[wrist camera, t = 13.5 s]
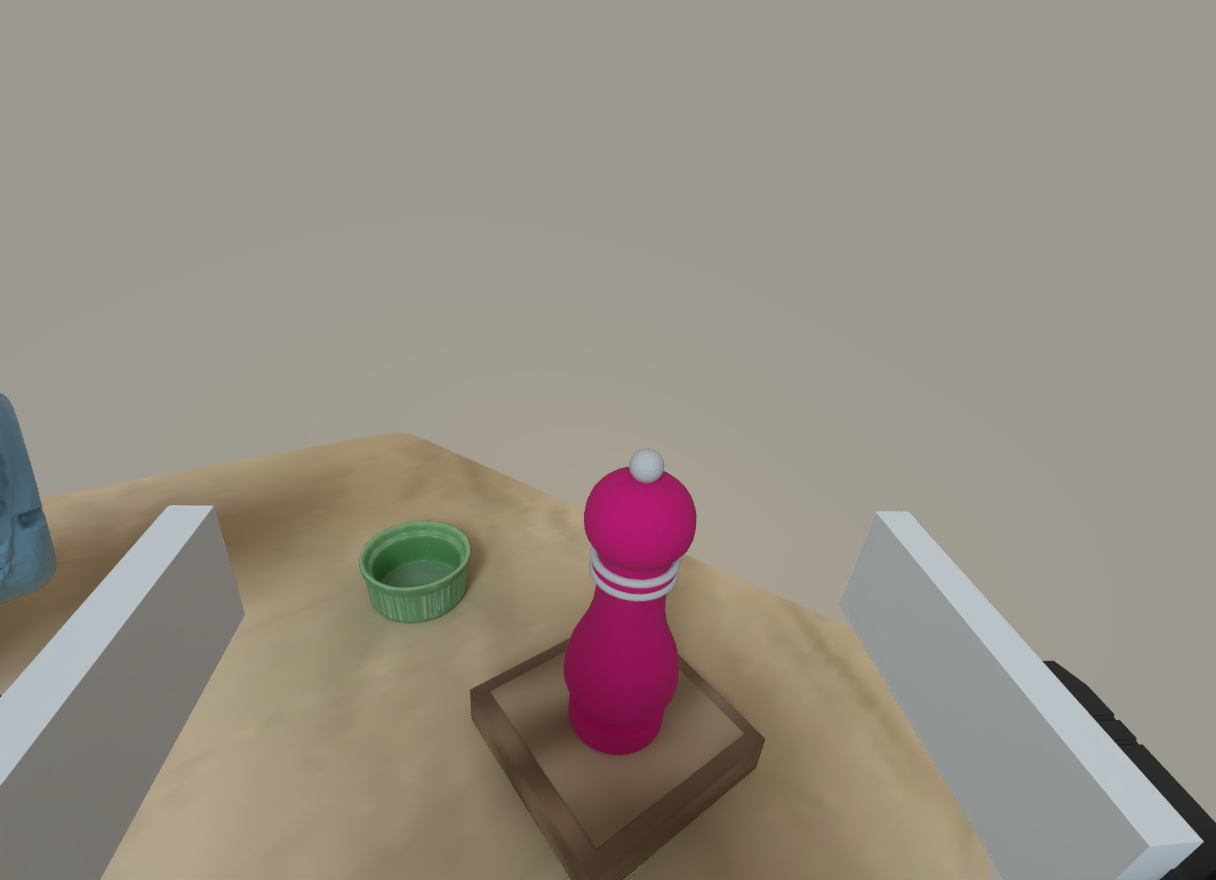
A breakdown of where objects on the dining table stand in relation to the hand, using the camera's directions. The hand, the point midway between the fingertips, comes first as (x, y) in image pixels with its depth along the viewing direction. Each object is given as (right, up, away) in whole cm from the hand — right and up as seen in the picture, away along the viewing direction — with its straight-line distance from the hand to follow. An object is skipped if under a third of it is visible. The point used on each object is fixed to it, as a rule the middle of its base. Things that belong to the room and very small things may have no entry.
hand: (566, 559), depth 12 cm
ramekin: (-16, -11, +40) cm, 45 cm away
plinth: (+1, -18, +29) cm, 34 cm away
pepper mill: (+1, -16, +27) cm, 32 cm away
